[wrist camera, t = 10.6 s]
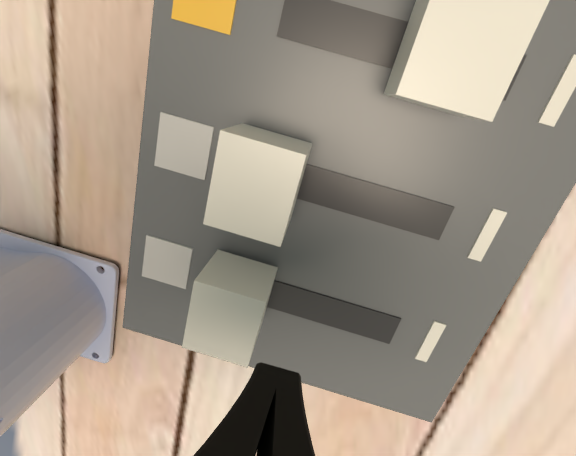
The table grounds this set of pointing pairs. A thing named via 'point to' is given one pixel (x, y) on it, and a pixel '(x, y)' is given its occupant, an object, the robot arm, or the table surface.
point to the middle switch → (255, 182)
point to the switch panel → (349, 189)
